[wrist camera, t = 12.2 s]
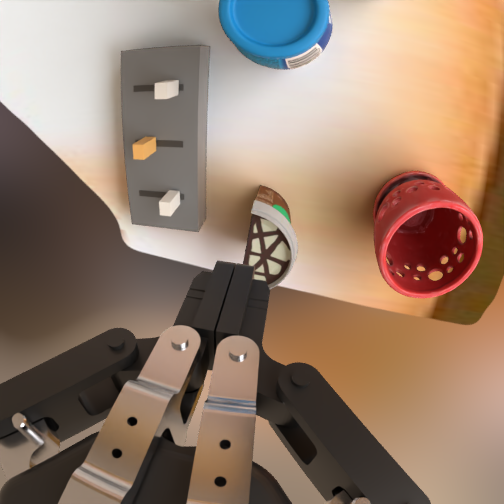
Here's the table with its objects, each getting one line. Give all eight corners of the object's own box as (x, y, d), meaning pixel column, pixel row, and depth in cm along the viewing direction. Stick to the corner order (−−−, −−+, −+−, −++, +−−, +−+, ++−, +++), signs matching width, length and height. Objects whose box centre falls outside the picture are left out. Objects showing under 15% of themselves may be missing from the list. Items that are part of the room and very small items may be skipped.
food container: (287, 260, 49) (283, 306, 40) (247, 251, 49) (235, 295, 40) (308, 185, 42) (309, 220, 33) (262, 175, 42) (251, 208, 33)
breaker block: (134, 50, 34) (118, 51, 30) (209, 46, 33) (200, 45, 30) (141, 211, 47) (129, 224, 44) (206, 218, 46) (198, 232, 43)
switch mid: (145, 136, 36) (132, 144, 33) (155, 136, 36) (143, 144, 33) (146, 150, 37) (133, 159, 34) (156, 150, 37) (144, 159, 34)
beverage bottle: (246, 62, 34) (194, 65, 17) (255, -1, 29) (211, -53, 12) (316, 73, 33) (333, 84, 17) (327, 10, 29) (353, -37, 12)
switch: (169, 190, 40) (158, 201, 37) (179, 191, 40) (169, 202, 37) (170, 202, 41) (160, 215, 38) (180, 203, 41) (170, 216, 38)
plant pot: (412, 142, 36) (449, 175, 26) (463, 208, 39) (499, 255, 29) (343, 206, 42) (355, 257, 33) (399, 262, 46) (419, 317, 36)
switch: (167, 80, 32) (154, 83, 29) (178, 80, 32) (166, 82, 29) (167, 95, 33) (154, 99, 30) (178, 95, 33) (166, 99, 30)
